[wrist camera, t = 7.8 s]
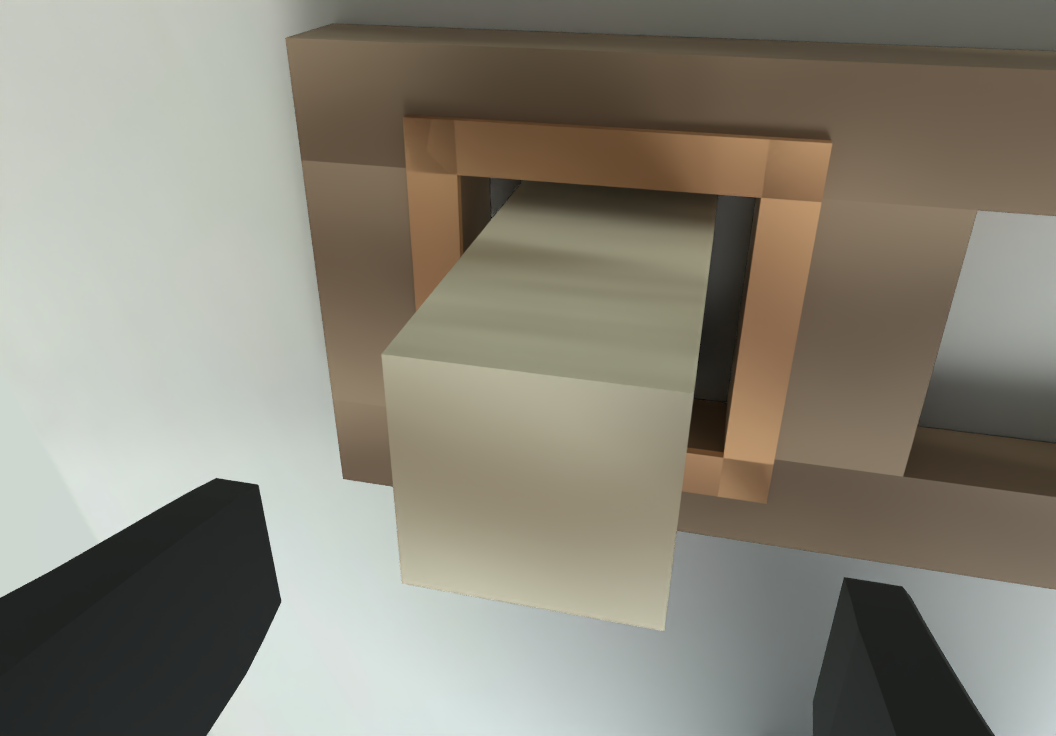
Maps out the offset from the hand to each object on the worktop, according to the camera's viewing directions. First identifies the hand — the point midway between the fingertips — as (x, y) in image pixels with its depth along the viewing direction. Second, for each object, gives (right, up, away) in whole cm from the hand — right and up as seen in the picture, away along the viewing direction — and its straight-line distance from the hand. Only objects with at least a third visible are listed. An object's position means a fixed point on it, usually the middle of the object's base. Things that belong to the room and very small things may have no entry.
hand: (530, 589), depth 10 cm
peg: (+2, +5, +8) cm, 9 cm away
